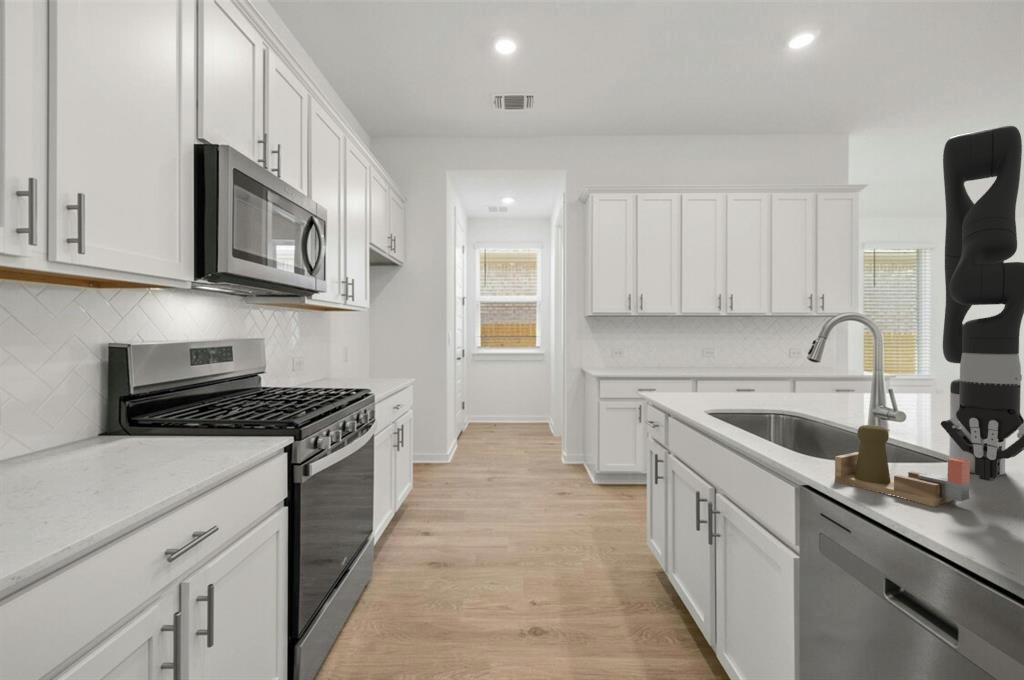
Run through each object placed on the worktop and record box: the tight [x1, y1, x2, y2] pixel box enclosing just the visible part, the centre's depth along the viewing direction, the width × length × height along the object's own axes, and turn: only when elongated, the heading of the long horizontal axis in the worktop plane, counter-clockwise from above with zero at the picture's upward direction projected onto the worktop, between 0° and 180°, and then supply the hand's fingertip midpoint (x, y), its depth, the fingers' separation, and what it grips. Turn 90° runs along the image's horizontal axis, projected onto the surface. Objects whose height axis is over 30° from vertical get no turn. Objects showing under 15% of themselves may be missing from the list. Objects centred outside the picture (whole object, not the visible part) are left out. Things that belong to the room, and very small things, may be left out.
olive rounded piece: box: [854, 424, 891, 484], centre depth 100 cm, size 6×6×11 cm
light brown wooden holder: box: [834, 451, 954, 507], centre depth 97 cm, size 8×17×5 cm, turn 27°
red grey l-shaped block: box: [918, 458, 971, 502], centre depth 90 cm, size 3×6×7 cm, turn 27°
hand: (987, 479), depth 84 cm, fingers closed
